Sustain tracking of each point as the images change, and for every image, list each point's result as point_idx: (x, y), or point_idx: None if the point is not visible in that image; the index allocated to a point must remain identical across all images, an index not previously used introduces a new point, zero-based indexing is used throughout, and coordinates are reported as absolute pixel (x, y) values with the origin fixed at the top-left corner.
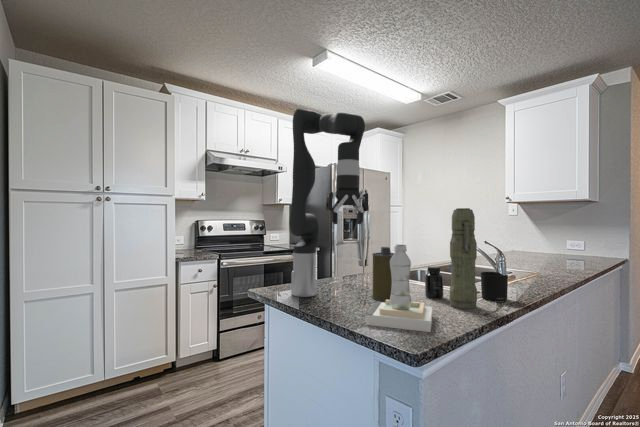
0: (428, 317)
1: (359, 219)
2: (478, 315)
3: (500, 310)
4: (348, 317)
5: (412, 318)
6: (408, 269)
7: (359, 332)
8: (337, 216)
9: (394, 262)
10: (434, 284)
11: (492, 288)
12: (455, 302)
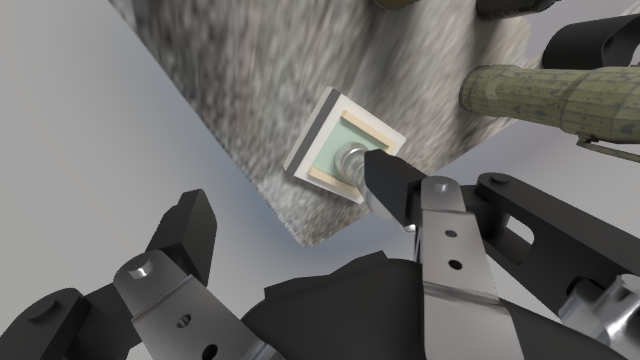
0: None
1: (378, 196)
2: (456, 138)
3: (501, 119)
4: (261, 122)
5: (344, 193)
6: None
7: (264, 194)
8: (210, 260)
9: (371, 210)
10: (511, 12)
11: (569, 66)
12: (467, 97)
